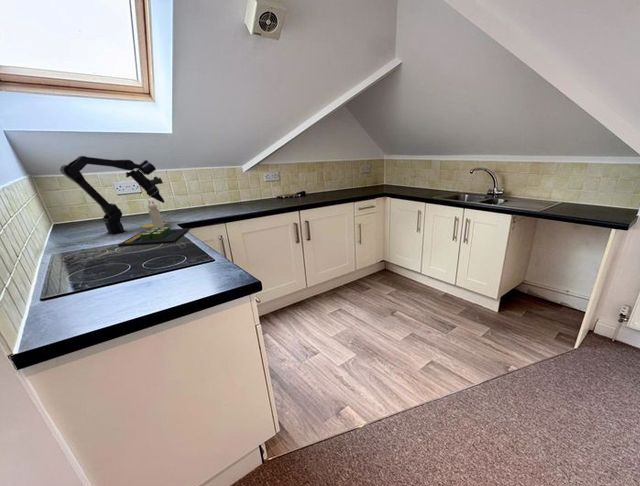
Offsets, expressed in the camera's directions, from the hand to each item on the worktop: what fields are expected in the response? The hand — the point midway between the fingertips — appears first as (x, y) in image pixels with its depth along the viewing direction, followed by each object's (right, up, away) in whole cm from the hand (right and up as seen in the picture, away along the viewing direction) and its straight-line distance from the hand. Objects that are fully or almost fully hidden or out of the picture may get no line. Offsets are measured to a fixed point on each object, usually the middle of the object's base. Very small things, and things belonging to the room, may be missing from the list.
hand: (163, 201), depth 184 cm
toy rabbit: (+2, -18, -6) cm, 19 cm away
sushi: (+13, -25, -24) cm, 37 cm away
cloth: (-6, -15, 0) cm, 16 cm away
